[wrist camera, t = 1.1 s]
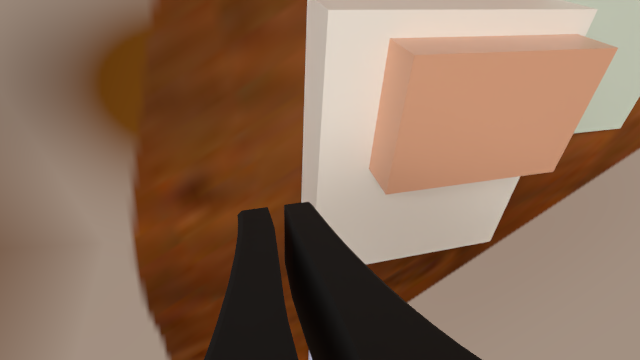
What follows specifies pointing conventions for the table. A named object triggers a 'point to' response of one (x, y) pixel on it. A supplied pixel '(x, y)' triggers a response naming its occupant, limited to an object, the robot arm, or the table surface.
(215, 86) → the table surface
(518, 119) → the tile
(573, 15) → the white flat block
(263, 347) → the robot arm
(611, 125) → the mat
